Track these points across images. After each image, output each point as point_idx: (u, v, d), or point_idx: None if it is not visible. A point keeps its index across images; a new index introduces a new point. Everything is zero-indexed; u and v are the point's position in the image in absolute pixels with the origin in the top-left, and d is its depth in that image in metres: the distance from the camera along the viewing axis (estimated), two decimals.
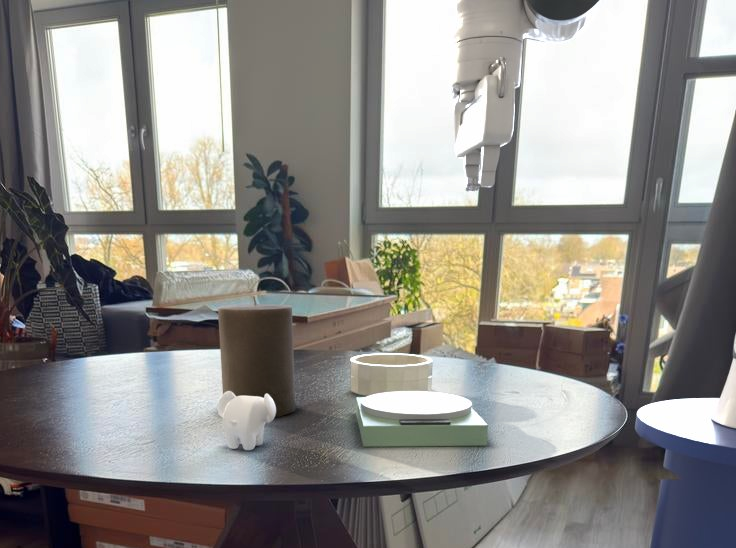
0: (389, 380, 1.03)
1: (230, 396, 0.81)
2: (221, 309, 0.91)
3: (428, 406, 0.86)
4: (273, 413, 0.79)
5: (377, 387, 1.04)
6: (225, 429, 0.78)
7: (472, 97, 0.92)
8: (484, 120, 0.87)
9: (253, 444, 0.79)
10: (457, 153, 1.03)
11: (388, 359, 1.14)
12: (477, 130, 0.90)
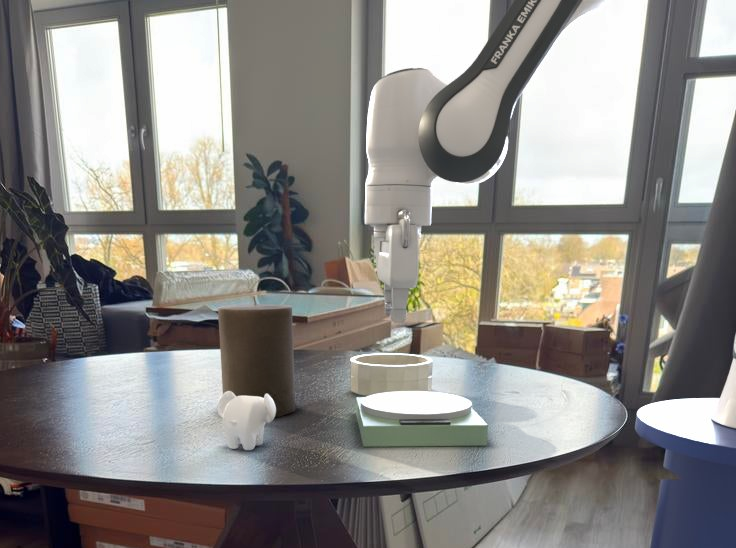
0: (389, 380, 1.03)
1: (230, 396, 0.81)
2: (221, 309, 0.91)
3: (428, 406, 0.86)
4: (273, 413, 0.79)
5: (377, 387, 1.04)
6: (225, 429, 0.78)
7: (383, 237, 0.95)
8: (389, 268, 0.89)
9: (253, 444, 0.79)
10: (378, 277, 1.06)
11: (388, 359, 1.14)
12: (386, 272, 0.93)
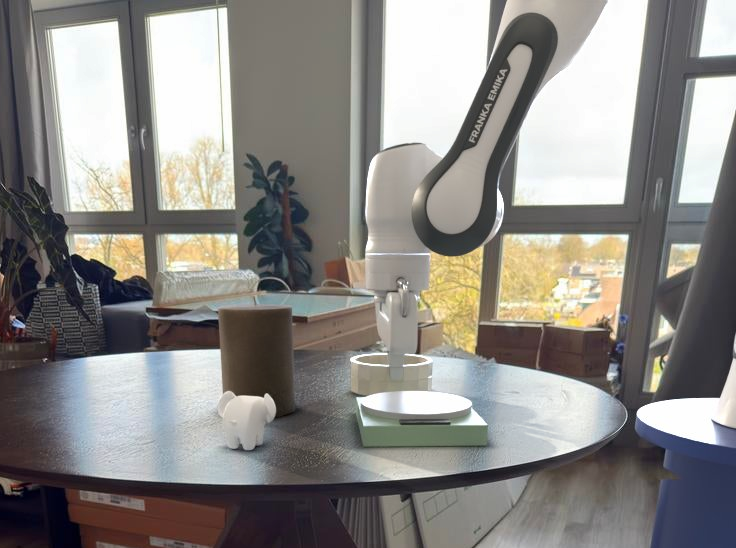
0: (389, 380, 1.03)
1: (230, 396, 0.81)
2: (221, 309, 0.91)
3: (428, 406, 0.86)
4: (273, 413, 0.79)
5: (377, 387, 1.04)
6: (225, 429, 0.78)
7: (383, 302, 0.98)
8: (389, 336, 0.92)
9: (253, 444, 0.79)
10: None
11: None
12: (386, 337, 0.96)
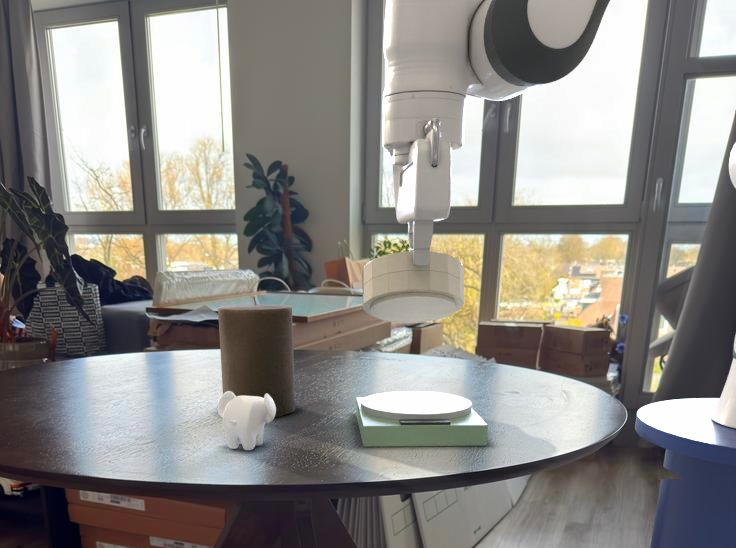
0: (412, 268, 0.82)
1: (230, 396, 0.81)
2: (221, 309, 0.91)
3: (428, 406, 0.86)
4: (273, 413, 0.79)
5: (397, 279, 0.83)
6: (225, 429, 0.78)
7: (406, 161, 0.77)
8: (415, 193, 0.71)
9: (253, 444, 0.79)
10: (398, 218, 0.88)
11: None
12: (410, 202, 0.75)
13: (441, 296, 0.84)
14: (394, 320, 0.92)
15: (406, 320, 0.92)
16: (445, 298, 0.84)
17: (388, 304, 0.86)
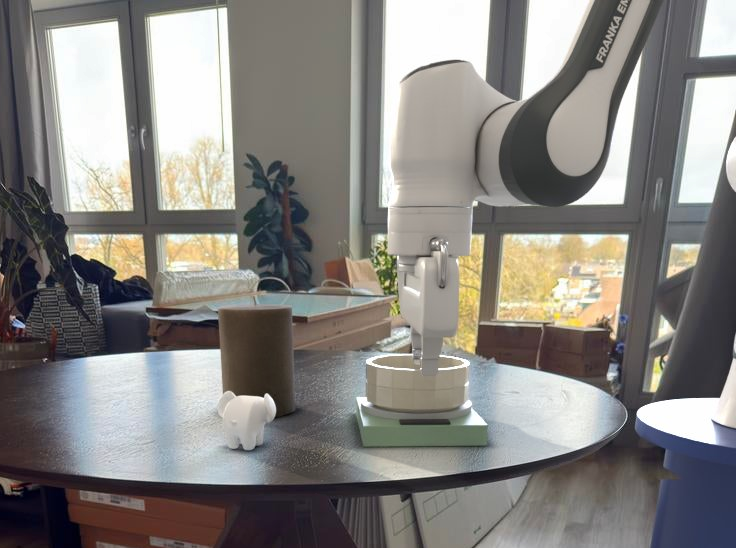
0: (417, 388, 0.81)
1: (230, 396, 0.81)
2: (221, 309, 0.91)
3: None
4: (273, 413, 0.79)
5: (401, 397, 0.82)
6: (225, 429, 0.78)
7: (412, 271, 0.76)
8: (422, 313, 0.70)
9: (253, 444, 0.79)
10: (402, 315, 0.87)
11: None
12: (416, 316, 0.74)
13: (445, 408, 0.84)
14: None
15: None
16: (449, 409, 0.84)
17: None
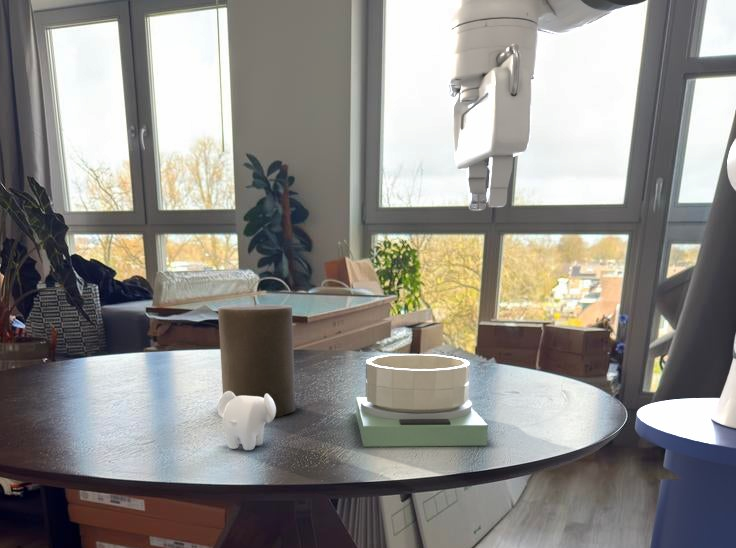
0: (417, 388, 0.81)
1: (230, 396, 0.81)
2: (221, 309, 0.91)
3: None
4: (273, 413, 0.79)
5: (401, 397, 0.82)
6: (225, 429, 0.78)
7: (476, 96, 0.73)
8: (493, 125, 0.68)
9: (253, 444, 0.79)
10: (458, 164, 0.85)
11: (412, 361, 0.92)
12: (483, 137, 0.72)
13: (445, 408, 0.84)
14: None
15: None
16: (449, 409, 0.84)
17: None
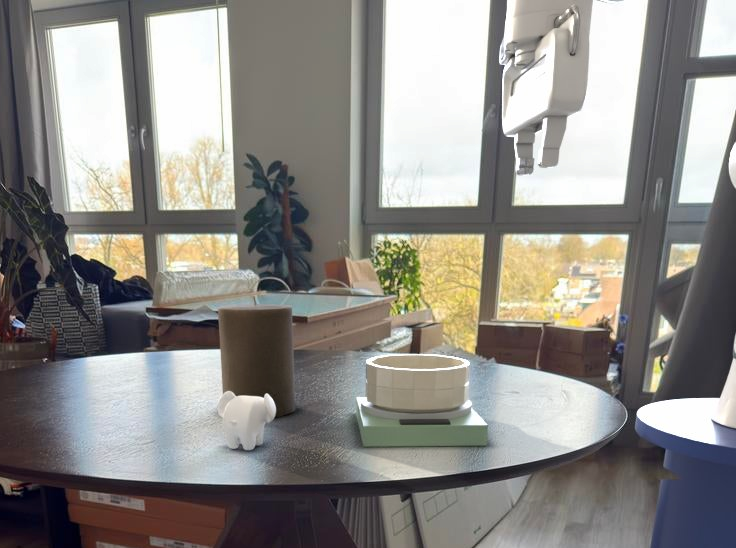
0: (417, 388, 0.81)
1: (230, 396, 0.81)
2: (221, 309, 0.91)
3: None
4: (273, 413, 0.79)
5: (401, 397, 0.82)
6: (225, 429, 0.78)
7: (531, 58, 0.76)
8: (551, 84, 0.71)
9: (253, 444, 0.79)
10: (506, 130, 0.87)
11: (412, 361, 0.92)
12: (539, 98, 0.74)
13: (445, 408, 0.84)
14: None
15: None
16: (449, 409, 0.84)
17: None
